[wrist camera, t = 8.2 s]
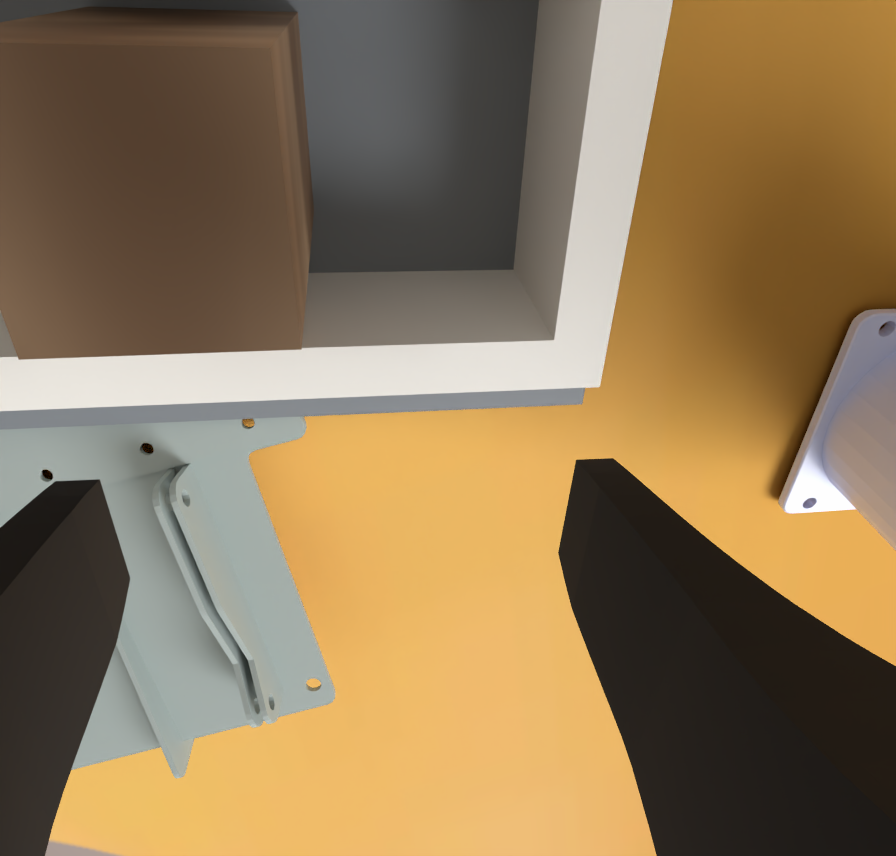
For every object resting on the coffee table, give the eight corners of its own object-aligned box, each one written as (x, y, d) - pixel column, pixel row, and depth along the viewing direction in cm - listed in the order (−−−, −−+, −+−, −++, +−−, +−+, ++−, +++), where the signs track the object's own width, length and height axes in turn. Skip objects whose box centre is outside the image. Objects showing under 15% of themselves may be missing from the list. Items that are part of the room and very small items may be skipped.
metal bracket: (401, 747, 21) (-54, 862, 21) (400, 634, 27) (38, 727, 27) (247, 305, 17) (-333, 458, 17) (284, 279, 22) (-153, 394, 22)
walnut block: (297, 12, 14) (270, 47, 8) (314, 210, 16) (301, 349, 10) (88, 6, 13) (-101, 40, 7) (136, 212, 15) (19, 359, 10)
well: (686, -307, 13) (854, -436, 8) (572, 386, 21) (629, 489, 17) (-520, -430, 10) (-1108, -700, 6) (-97, 413, 18) (-219, 541, 14)
